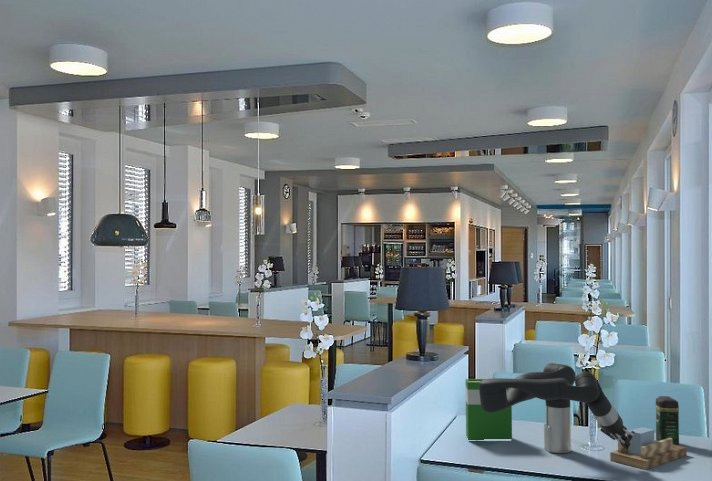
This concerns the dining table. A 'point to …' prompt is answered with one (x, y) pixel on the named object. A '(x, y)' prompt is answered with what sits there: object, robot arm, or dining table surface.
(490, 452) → the dining table surface
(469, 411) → the hardback book
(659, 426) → the coffee jar
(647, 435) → the block
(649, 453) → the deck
